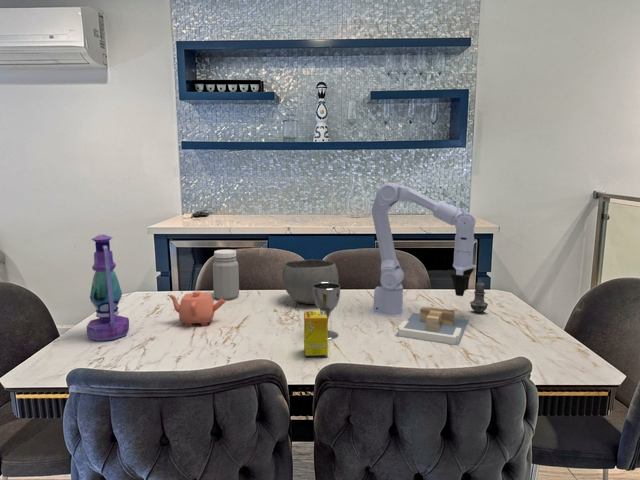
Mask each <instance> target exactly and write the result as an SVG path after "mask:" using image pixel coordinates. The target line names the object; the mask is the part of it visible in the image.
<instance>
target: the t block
mask: <svg viewBox="0 0 640 480" xmlns="http://www.w3.org/2000/svg"><path fill="white" fill-rule="evenodd" d="M419 312H420V322H426V330H429V331H436V332H438V330H439V328H440V327H441V325H449V326H453V324H454V318H455V309H446V308H438V307H430V306H422V307H421V308H420V311H419Z"/></svg>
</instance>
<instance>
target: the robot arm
mask: <svg viewBox="0 0 640 480" xmlns="http://www.w3.org/2000/svg"><path fill="white" fill-rule="evenodd" d="M405 201H407V202H412V203H414V204H416V205H418V206H420V207H422V208H425V209H427V210H429V211H431V212H432V215H433V218H436V219H438V220H440V221H442V222H444V223H446V224H448V225H450V226H454V227H455V235H454V251H453V263H452V267H453V268H454V270H455V272H452V271H451V272H450V277H451V280H452V281H453V285H454V292H455V296H459V297H464V294H465V292H466V291H467V289H468V284H469V281H470V278H471V275H472V274H473V271H474V269H476V268H477V265H476V264H473V261H474V248H475V247H474V246H475V245H474V244H475V236H474V235H475V226H476V222H477V221H476V217H475V216H474V215H473V213H472V212H470V211H465V208H462V207H461V208H459V207H457V206H455V205H453V204H451V201H449V200H446V201H444V200H440V201H436V200H434V199H432V198H430V197H428V196H427V195H424V194H422V193H421V192H419V191H417V190H415V189H414V188H412V187H409V186H406V185H403V184H402V185H401V184H400V183H398V182H392V183H390V182H386V183H384V184H383V185H381V186H380V188H378V190H377V191H376V193H375V198H374V201H373V203H372V206H371V214H372V220H373V225H374V230H375V235H376V240H377V245H378V250H379V251H378V252H379V254H380V255H379V257H380V260H381V264H380V277H379V282H380V286H376V287H375V288H374V292H373V312H372V313H373V314H376V315H385V316H392V317H401V316H403V314H404V313H405V312H406V309H403V301H404V300H403V298H404V295H403V294H404V287H403V284H402V282H403V281H404V279H405V272H404V270H403V268H401V265H400V262H399V260H398V258H397V255H396V249H395V245H394V238H393V234H392V229H391V224H390V220H389V214H388V212H389V211H391V210H390V209H392V207H393V206H394V205H395V204H396V203H398V202H405Z"/></svg>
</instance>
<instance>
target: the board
mask: <svg viewBox="0 0 640 480" xmlns="http://www.w3.org/2000/svg"><path fill="white" fill-rule="evenodd" d="M406 321H409V328H408V329H413V330H420V331H427V332H434V333H441V334H447V335H453V334H454V331H455V329H456V328H462V330H461V337H460V339H459V342H458V343H456V344H449V343H442V342H436V341H429V340H422V339H416V338H409V337H403V336H398V331H397V332H396V334H394V337H399V338H406V339H412V340H419V341H425V342H432V343H436V344H437V343H438V344H444V345H451V346H460V344H461V341H462V339H463V337H464V334H465V331H466V328H467V326H468V323H469V321H470V319H464V318H458V317H457V318H456V317H454V324H453V326H449V325H441V327H440V328H439V330H438V332H436V331H429V330H426V322H420V313H419V312H412V313H411V315H410V316H409V317H408V319H407V320H406Z"/></svg>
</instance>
